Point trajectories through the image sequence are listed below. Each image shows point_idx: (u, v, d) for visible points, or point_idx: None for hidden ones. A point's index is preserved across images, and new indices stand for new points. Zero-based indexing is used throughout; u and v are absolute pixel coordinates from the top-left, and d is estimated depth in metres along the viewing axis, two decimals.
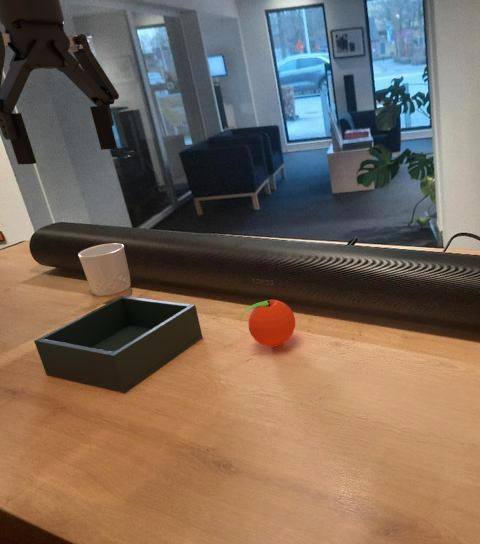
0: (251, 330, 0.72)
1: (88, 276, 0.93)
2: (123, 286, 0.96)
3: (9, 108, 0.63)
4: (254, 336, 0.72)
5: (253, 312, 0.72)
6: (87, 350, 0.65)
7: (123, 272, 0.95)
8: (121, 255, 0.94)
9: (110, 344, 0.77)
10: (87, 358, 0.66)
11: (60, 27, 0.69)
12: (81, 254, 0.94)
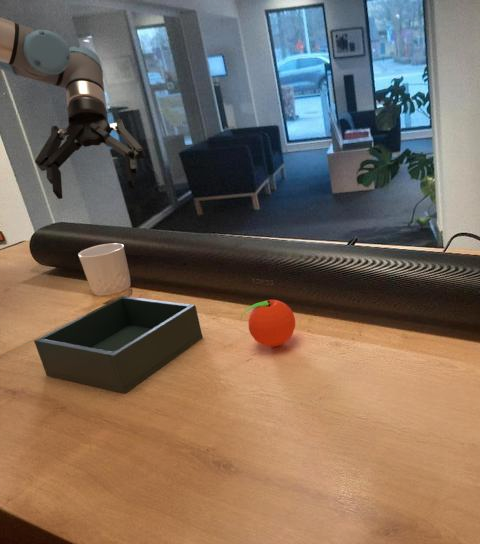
0: (251, 330, 0.72)
1: (88, 276, 0.93)
2: (123, 286, 0.96)
3: None
4: (254, 336, 0.72)
5: (253, 312, 0.72)
6: (87, 350, 0.65)
7: (123, 272, 0.95)
8: (121, 255, 0.94)
9: (110, 344, 0.77)
10: (87, 358, 0.66)
11: None
12: (81, 254, 0.94)
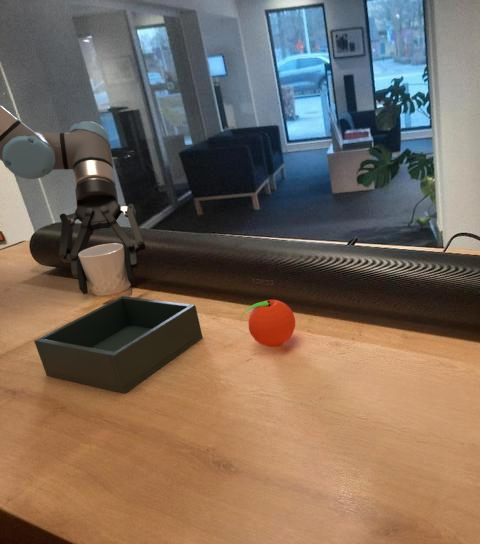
0: (251, 330, 0.72)
1: (88, 276, 0.93)
2: (123, 286, 0.96)
3: None
4: (254, 336, 0.72)
5: (253, 312, 0.72)
6: (87, 350, 0.65)
7: (123, 272, 0.95)
8: (120, 255, 0.94)
9: (110, 344, 0.77)
10: (87, 358, 0.66)
11: None
12: (81, 254, 0.94)
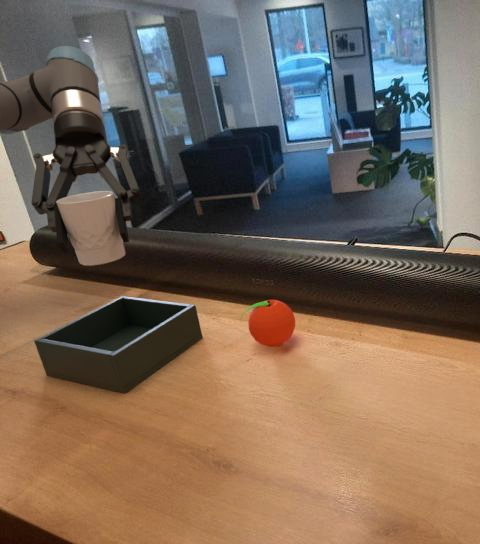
0: (251, 330, 0.72)
1: (69, 229, 0.73)
2: (113, 244, 0.76)
3: None
4: (254, 336, 0.72)
5: (253, 312, 0.72)
6: (87, 350, 0.65)
7: (114, 225, 0.76)
8: (110, 204, 0.75)
9: (110, 344, 0.77)
10: (87, 358, 0.66)
11: None
12: (60, 202, 0.75)
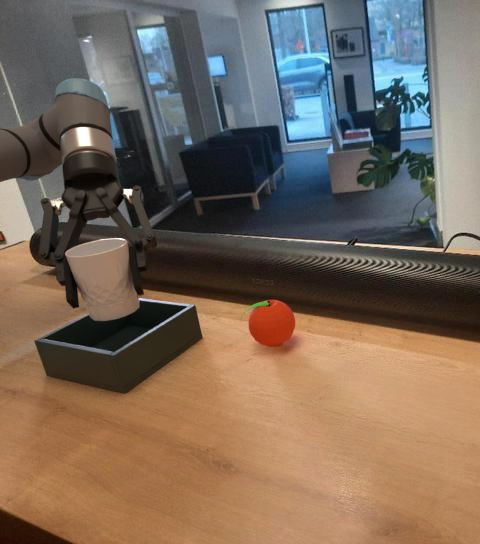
0: (251, 330, 0.72)
1: (79, 283, 0.67)
2: (127, 297, 0.70)
3: None
4: (254, 336, 0.72)
5: (253, 312, 0.72)
6: (87, 350, 0.65)
7: (127, 278, 0.70)
8: (124, 254, 0.69)
9: (110, 344, 0.77)
10: (87, 358, 0.66)
11: None
12: (69, 253, 0.69)
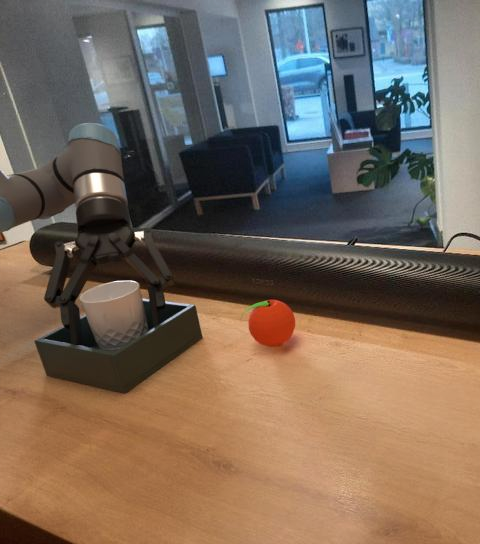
0: (251, 330, 0.72)
1: (93, 327, 0.70)
2: None
3: None
4: (254, 336, 0.72)
5: (253, 312, 0.72)
6: (87, 350, 0.65)
7: (139, 320, 0.72)
8: (136, 298, 0.71)
9: None
10: (87, 358, 0.66)
11: None
12: (84, 297, 0.71)
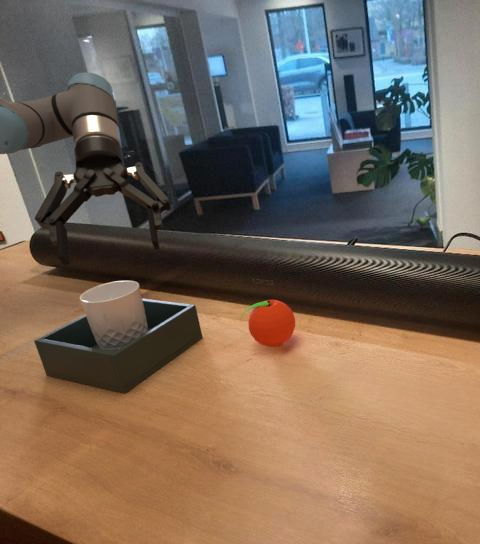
0: (251, 330, 0.72)
1: (93, 327, 0.70)
2: None
3: None
4: (254, 336, 0.72)
5: (253, 312, 0.72)
6: (87, 350, 0.65)
7: (139, 320, 0.72)
8: (136, 298, 0.71)
9: None
10: (87, 358, 0.66)
11: None
12: (83, 297, 0.71)
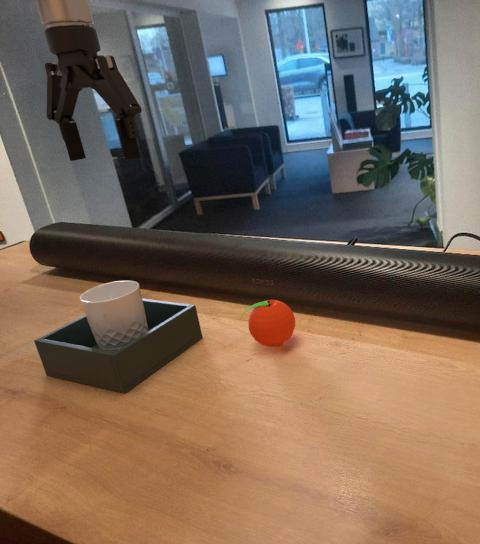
0: (251, 330, 0.72)
1: (93, 327, 0.70)
2: None
3: None
4: (254, 336, 0.72)
5: (253, 312, 0.72)
6: (87, 350, 0.65)
7: (139, 320, 0.72)
8: (136, 298, 0.71)
9: None
10: (87, 358, 0.66)
11: None
12: (83, 297, 0.71)
